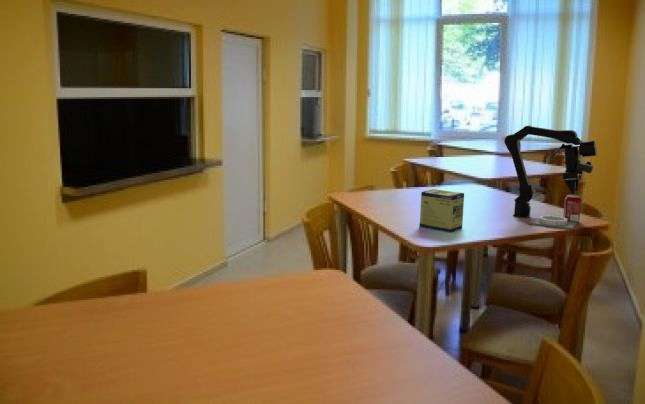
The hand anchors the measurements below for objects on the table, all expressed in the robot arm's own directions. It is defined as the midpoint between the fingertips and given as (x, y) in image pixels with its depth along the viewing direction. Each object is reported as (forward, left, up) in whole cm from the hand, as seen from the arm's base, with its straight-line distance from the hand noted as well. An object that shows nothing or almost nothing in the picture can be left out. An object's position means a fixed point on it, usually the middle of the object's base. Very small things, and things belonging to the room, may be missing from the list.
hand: (574, 192), depth 265 cm
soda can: (0, 0, -14) cm, 14 cm away
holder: (-6, -11, -14) cm, 19 cm away
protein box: (-46, -45, -14) cm, 66 cm away
